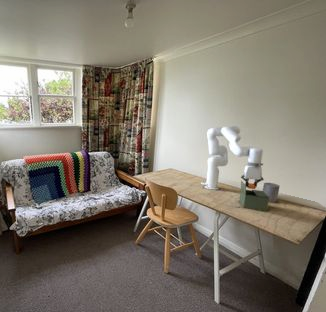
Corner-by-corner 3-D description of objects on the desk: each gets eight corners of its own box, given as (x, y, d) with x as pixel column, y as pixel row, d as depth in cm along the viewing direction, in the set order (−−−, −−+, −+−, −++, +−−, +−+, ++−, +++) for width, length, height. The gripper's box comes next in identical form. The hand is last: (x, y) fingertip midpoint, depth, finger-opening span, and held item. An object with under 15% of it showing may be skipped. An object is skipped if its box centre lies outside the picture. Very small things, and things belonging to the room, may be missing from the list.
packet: (255, 189, 144) (255, 186, 144) (248, 188, 146) (249, 185, 146) (252, 186, 150) (253, 183, 149) (246, 186, 151) (246, 182, 151)
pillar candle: (259, 196, 166) (262, 180, 163) (274, 198, 161) (277, 182, 158) (263, 201, 158) (266, 184, 155) (278, 203, 153) (282, 185, 150)
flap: (245, 194, 145) (245, 194, 145) (241, 188, 156) (240, 188, 156) (246, 185, 144) (245, 185, 144) (241, 180, 155) (240, 180, 155)
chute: (243, 207, 147) (245, 194, 145) (239, 201, 158) (241, 188, 156) (266, 211, 141) (269, 197, 139) (260, 204, 152) (262, 190, 150)
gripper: (266, 164, 144) (262, 187, 147) (239, 162, 151) (236, 184, 155) (270, 166, 137) (266, 190, 141) (241, 164, 145) (238, 187, 148)
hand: (250, 186), depth 148 cm, fingers closed on packet, 4 cm apart
